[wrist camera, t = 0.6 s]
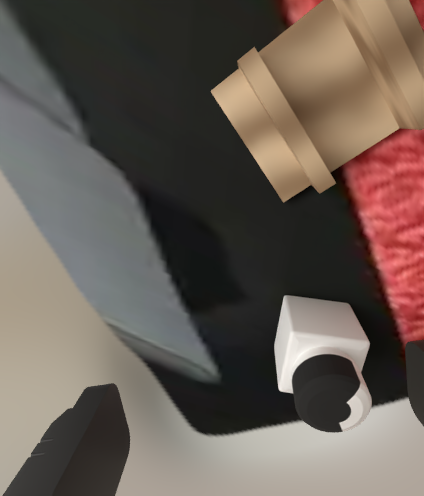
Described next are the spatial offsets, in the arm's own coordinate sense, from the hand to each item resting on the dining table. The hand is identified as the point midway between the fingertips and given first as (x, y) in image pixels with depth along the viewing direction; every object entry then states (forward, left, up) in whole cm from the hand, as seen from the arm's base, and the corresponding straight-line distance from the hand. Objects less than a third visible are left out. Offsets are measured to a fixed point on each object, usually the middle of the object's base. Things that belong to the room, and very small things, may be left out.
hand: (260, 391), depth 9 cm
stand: (-4, +10, -26) cm, 28 cm away
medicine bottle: (+16, -3, -26) cm, 31 cm away
